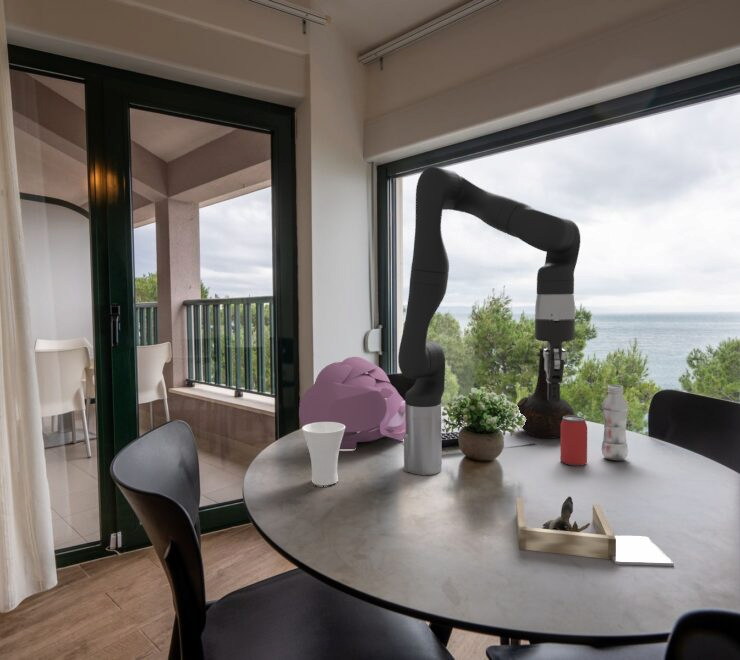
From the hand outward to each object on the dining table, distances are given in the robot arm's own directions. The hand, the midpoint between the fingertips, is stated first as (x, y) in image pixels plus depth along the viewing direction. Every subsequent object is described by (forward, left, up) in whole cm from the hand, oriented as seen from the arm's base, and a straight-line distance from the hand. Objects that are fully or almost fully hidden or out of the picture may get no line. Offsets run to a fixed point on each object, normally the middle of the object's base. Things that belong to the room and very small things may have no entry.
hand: (553, 401), depth 100 cm
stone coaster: (+11, -15, -23) cm, 29 cm away
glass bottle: (+3, +59, -23) cm, 64 cm away
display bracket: (0, -11, -23) cm, 25 cm away
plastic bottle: (+19, +37, -23) cm, 48 cm away
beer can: (+8, +32, -23) cm, 40 cm away
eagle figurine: (+1, -12, -23) cm, 26 cm away
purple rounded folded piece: (-52, +39, -23) cm, 69 cm away
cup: (-52, +4, -23) cm, 57 cm away
